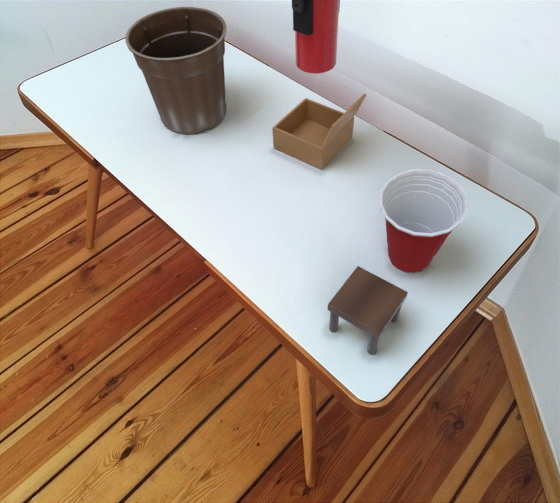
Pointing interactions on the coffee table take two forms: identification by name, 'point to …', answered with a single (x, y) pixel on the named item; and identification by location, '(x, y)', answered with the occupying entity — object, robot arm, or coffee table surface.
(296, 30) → the robot arm
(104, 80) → the coffee table surface
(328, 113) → the carton
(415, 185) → the plastic cup
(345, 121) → the flap
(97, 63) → the coffee table surface
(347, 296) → the stool
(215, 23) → the plant pot
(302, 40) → the can
